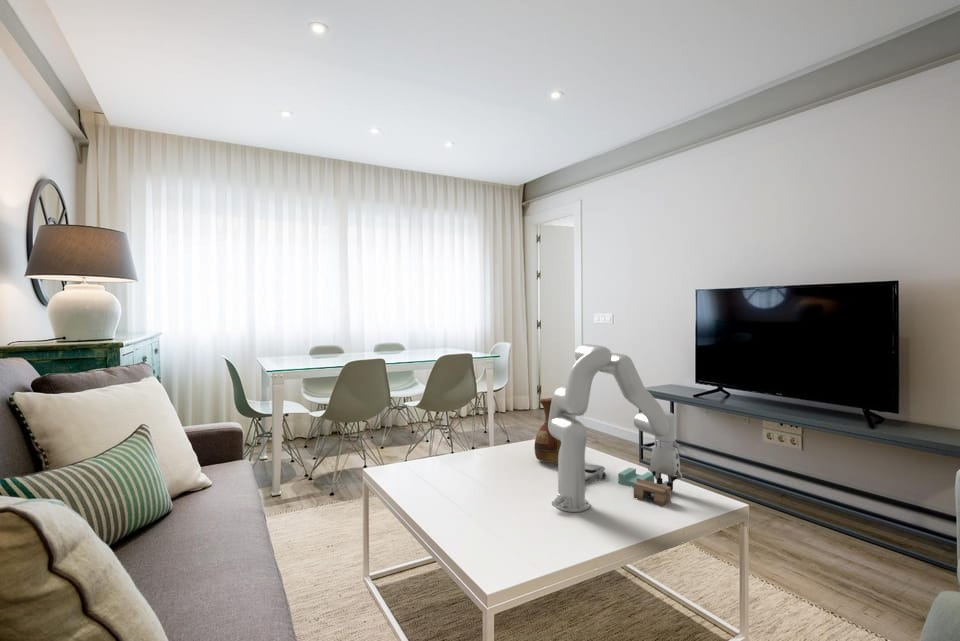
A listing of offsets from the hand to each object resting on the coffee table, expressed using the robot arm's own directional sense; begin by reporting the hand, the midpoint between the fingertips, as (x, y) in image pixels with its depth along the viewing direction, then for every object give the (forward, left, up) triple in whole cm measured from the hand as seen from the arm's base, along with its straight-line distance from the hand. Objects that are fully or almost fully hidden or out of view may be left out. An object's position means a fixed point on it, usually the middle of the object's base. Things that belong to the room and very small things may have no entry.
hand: (664, 490), depth 185 cm
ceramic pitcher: (+1, +52, -1) cm, 52 cm away
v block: (+1, +12, -1) cm, 12 cm away
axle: (-4, 0, 0) cm, 4 cm away
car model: (-10, +30, -1) cm, 31 cm away
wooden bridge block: (-11, 0, -1) cm, 11 cm away
